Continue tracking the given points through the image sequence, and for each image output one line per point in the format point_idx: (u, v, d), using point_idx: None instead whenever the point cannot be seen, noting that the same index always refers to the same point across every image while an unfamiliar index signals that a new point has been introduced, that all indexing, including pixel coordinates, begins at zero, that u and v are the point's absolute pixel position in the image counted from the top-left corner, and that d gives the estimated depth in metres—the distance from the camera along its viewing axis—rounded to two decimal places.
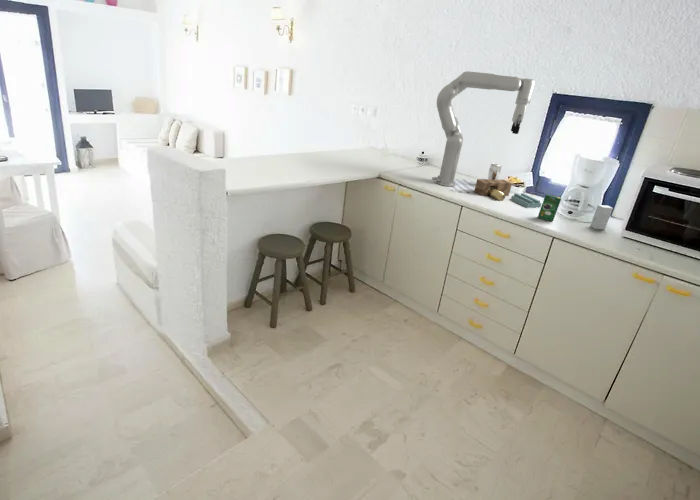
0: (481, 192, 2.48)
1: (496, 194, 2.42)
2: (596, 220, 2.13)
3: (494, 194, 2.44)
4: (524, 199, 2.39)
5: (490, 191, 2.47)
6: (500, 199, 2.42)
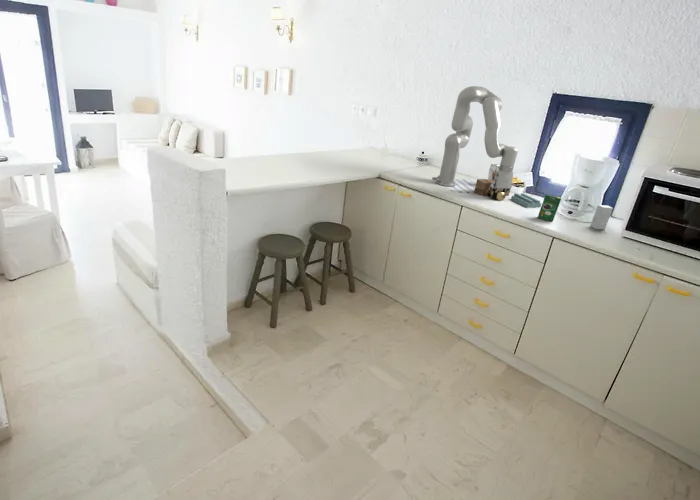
0: (481, 192, 2.48)
1: None
2: (596, 220, 2.13)
3: None
4: (524, 199, 2.39)
5: (490, 191, 2.47)
6: (500, 199, 2.42)
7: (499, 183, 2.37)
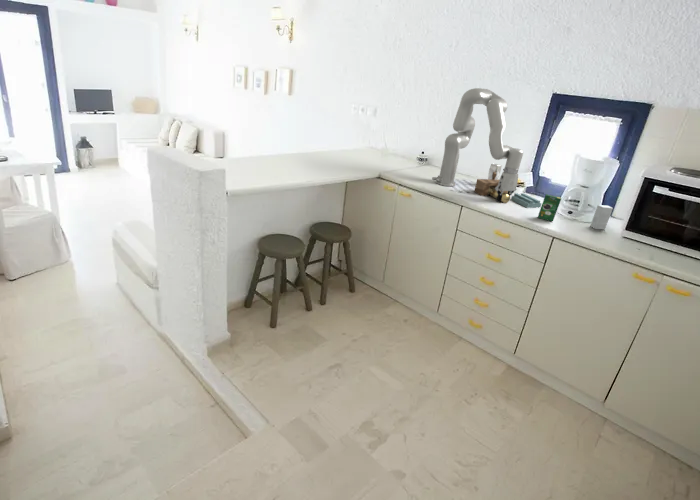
0: (481, 192, 2.48)
1: None
2: (596, 220, 2.13)
3: None
4: (524, 199, 2.39)
5: (494, 193, 2.44)
6: (505, 201, 2.38)
7: (504, 185, 2.33)
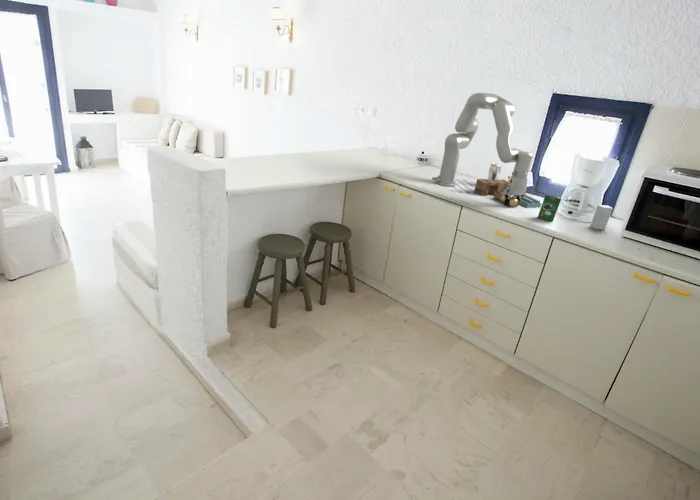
0: (481, 192, 2.48)
1: (509, 201, 2.33)
2: (596, 220, 2.13)
3: None
4: (524, 199, 2.39)
5: (502, 197, 2.37)
6: (513, 206, 2.32)
7: (513, 190, 2.27)
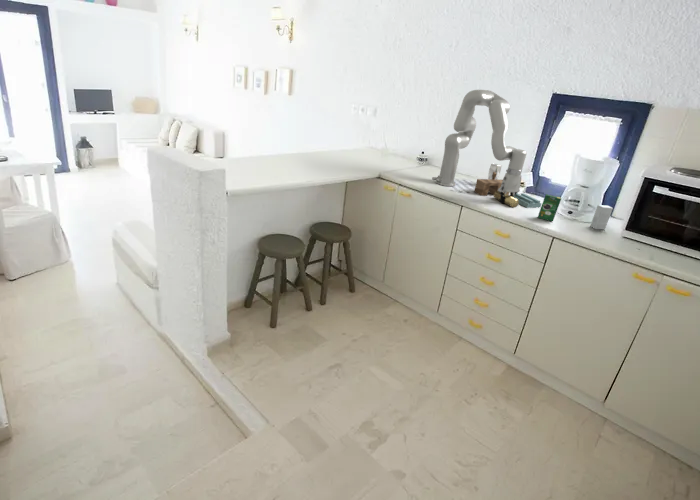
0: (481, 192, 2.48)
1: (509, 200, 2.33)
2: (596, 220, 2.13)
3: (506, 201, 2.34)
4: (524, 199, 2.39)
5: None
6: (513, 205, 2.32)
7: (507, 187, 2.31)
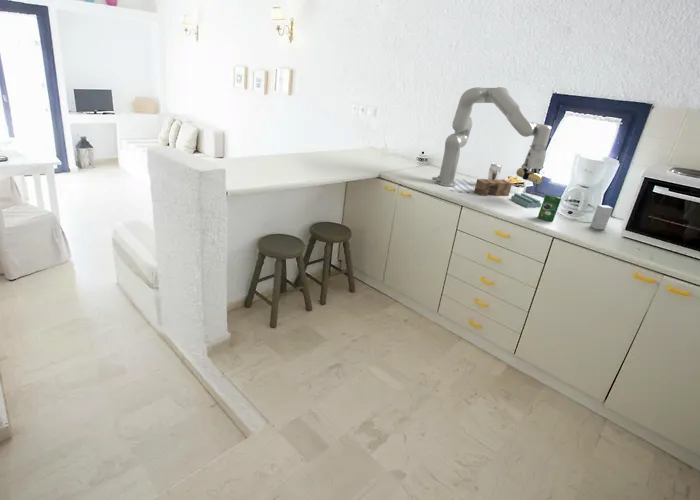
0: (481, 192, 2.48)
1: (533, 176, 2.30)
2: (596, 220, 2.13)
3: (530, 177, 2.31)
4: (524, 199, 2.39)
5: None
6: (537, 182, 2.29)
7: (531, 163, 2.28)
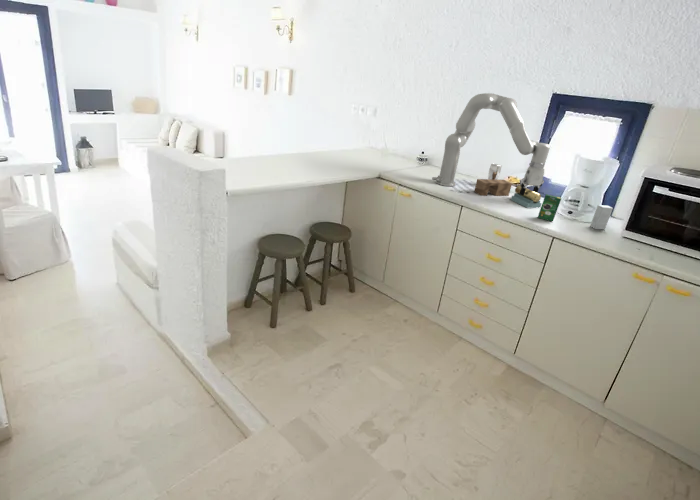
0: (481, 192, 2.48)
1: (531, 195, 2.35)
2: (596, 220, 2.13)
3: (529, 195, 2.37)
4: (524, 199, 2.39)
5: (525, 192, 2.40)
6: (535, 200, 2.35)
7: (530, 180, 2.33)
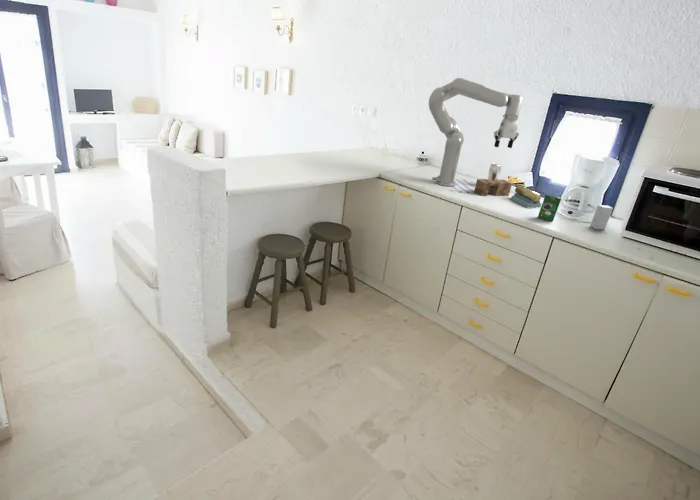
0: (481, 192, 2.48)
1: (532, 194, 2.35)
2: (596, 220, 2.13)
3: (529, 195, 2.37)
4: (524, 199, 2.39)
5: (525, 191, 2.40)
6: (535, 200, 2.35)
7: (504, 132, 2.37)
